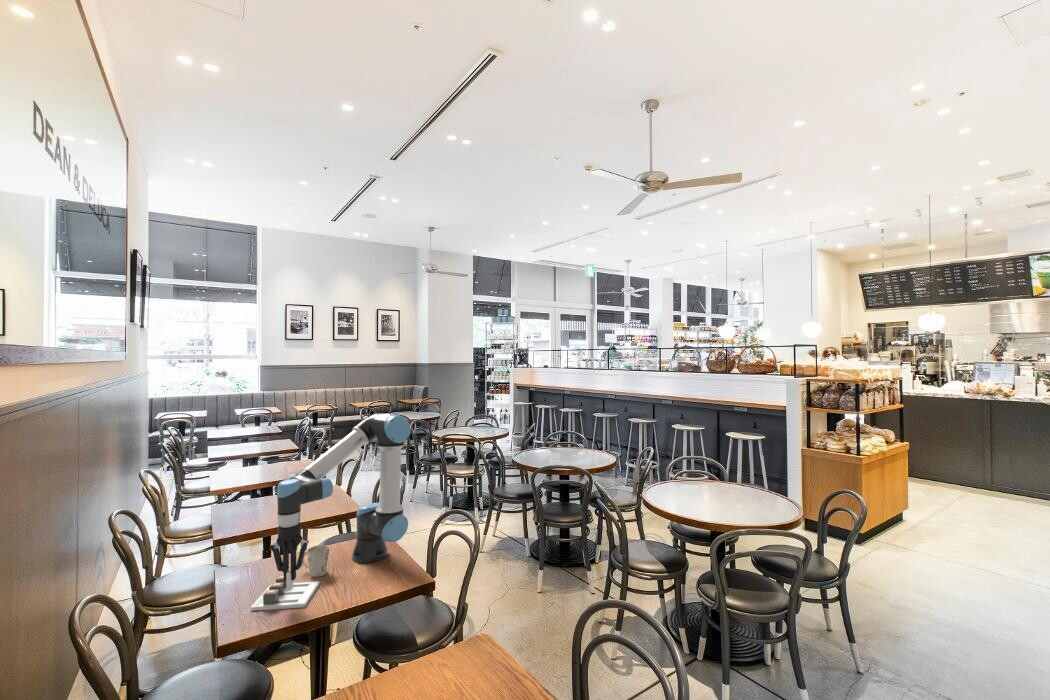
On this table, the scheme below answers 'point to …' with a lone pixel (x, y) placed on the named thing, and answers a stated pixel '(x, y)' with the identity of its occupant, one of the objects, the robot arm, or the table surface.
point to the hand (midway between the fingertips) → (289, 589)
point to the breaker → (270, 596)
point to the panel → (288, 595)
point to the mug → (317, 560)
